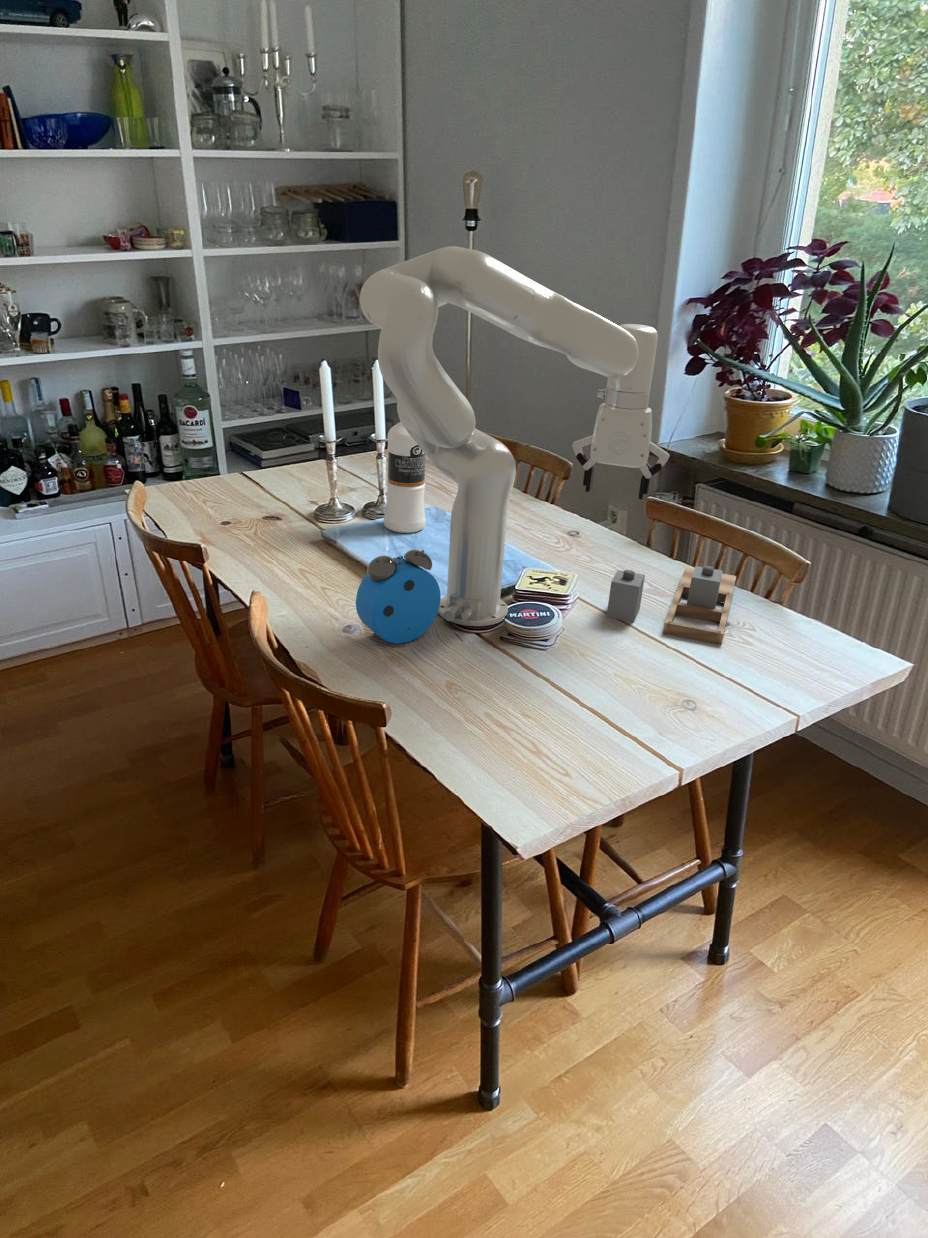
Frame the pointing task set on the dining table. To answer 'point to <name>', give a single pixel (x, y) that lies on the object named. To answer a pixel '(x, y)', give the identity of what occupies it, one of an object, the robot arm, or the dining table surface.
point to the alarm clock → (398, 597)
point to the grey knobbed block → (704, 587)
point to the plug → (625, 595)
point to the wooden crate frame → (699, 610)
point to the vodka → (404, 483)
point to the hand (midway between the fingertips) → (614, 493)
